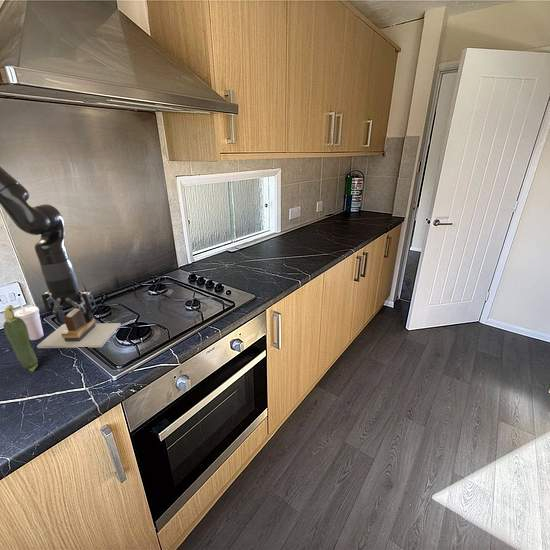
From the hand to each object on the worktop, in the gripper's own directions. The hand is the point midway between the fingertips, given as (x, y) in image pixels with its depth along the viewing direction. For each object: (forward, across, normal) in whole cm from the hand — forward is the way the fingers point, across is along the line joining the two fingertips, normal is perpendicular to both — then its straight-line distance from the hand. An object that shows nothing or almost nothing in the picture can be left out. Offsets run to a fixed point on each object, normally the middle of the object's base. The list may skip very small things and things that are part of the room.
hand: (76, 321), depth 92 cm
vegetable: (+6, +4, +15) cm, 16 cm away
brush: (+4, 0, 0) cm, 5 cm away
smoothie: (+6, +15, 0) cm, 16 cm away
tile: (+6, 0, 0) cm, 6 cm away
